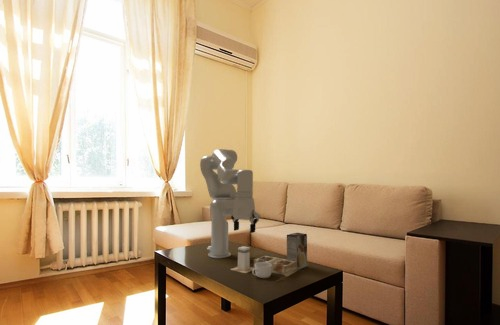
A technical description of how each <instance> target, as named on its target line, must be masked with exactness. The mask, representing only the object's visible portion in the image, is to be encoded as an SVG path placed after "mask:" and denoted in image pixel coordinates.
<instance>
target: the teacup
mask: <svg viewBox="0 0 500 325" xmlns="http://www.w3.org/2000/svg"><path fill="white" fill-rule="evenodd" d="M251 272H252V275H254V276H257V277H258V278H261V279H268V278H270V277H271V275H272V274H273V273H272V264H271V263H267V262H259V263H256V264H255V269H253V270H252V271H251Z"/></svg>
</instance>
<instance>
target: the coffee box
mask: <svg viewBox="0 0 500 325" xmlns="http://www.w3.org/2000/svg"><path fill="white" fill-rule="evenodd" d="M286 260H292V261H297V271H299V270H302V269H304V268H306V267H308V234H307V233H302V232H294V233H290V234H286Z"/></svg>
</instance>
